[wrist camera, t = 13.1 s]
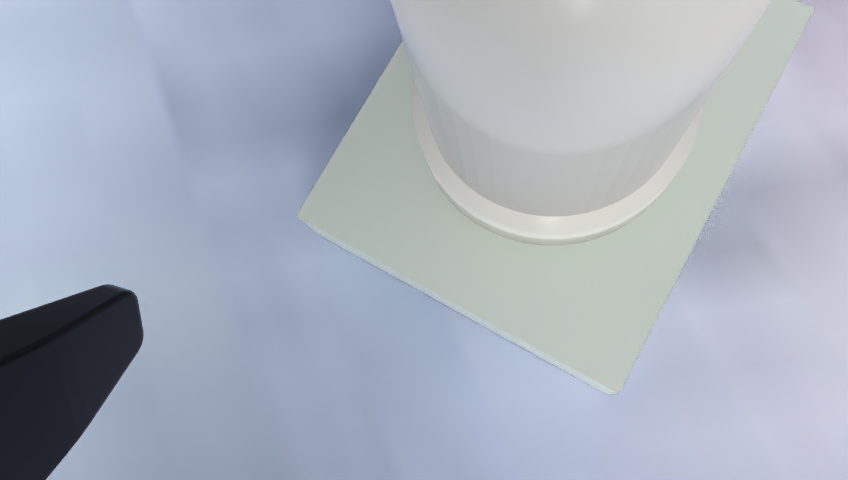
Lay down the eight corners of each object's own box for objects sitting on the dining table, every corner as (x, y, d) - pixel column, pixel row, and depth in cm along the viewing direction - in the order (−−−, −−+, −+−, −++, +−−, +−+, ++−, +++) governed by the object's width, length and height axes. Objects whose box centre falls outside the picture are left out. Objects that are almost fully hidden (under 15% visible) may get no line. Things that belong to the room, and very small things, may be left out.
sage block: (605, 393, 19) (618, 393, 16) (320, 236, 21) (295, 215, 19) (778, 53, 20) (814, 7, 18) (497, -59, 23) (495, -113, 20)
